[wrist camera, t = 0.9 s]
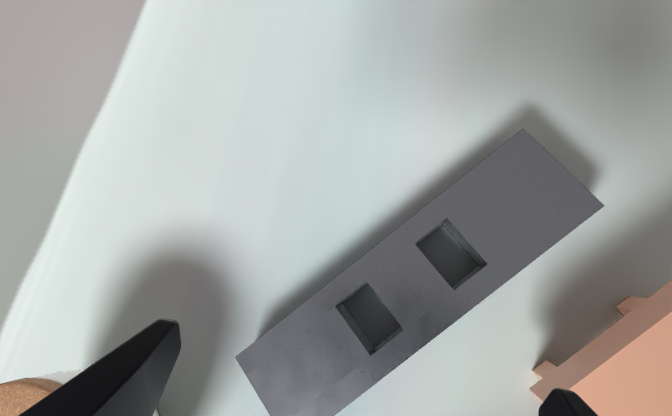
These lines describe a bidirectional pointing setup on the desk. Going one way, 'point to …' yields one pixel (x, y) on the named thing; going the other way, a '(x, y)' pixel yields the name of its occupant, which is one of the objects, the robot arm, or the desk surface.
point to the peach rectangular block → (622, 362)
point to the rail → (418, 281)
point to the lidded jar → (32, 391)
